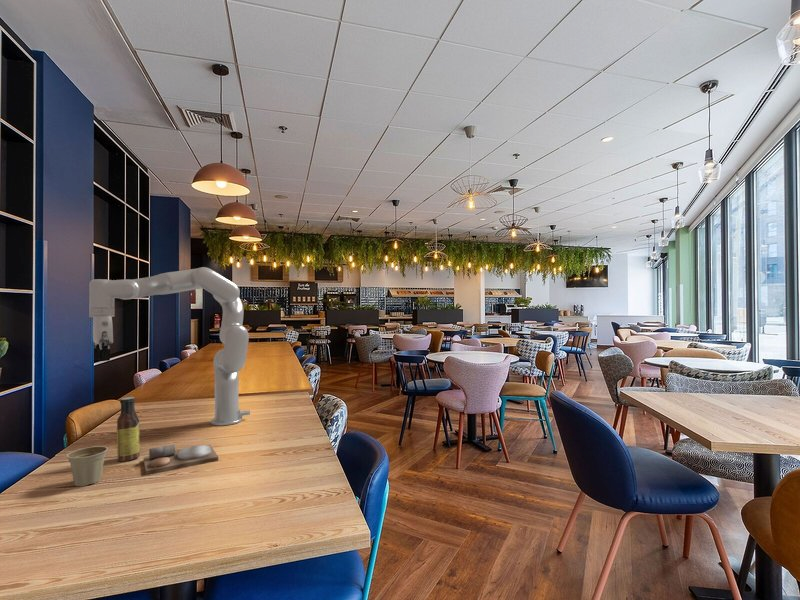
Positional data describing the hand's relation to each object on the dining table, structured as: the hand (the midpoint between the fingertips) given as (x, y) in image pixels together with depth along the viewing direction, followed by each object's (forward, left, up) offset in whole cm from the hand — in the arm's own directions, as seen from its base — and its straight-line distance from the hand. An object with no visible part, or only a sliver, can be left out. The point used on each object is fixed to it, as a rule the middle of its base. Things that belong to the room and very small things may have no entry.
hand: (101, 359), depth 150 cm
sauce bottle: (-8, +24, -31) cm, 40 cm away
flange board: (-22, +36, -31) cm, 52 cm away
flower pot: (+2, +39, -31) cm, 49 cm away
